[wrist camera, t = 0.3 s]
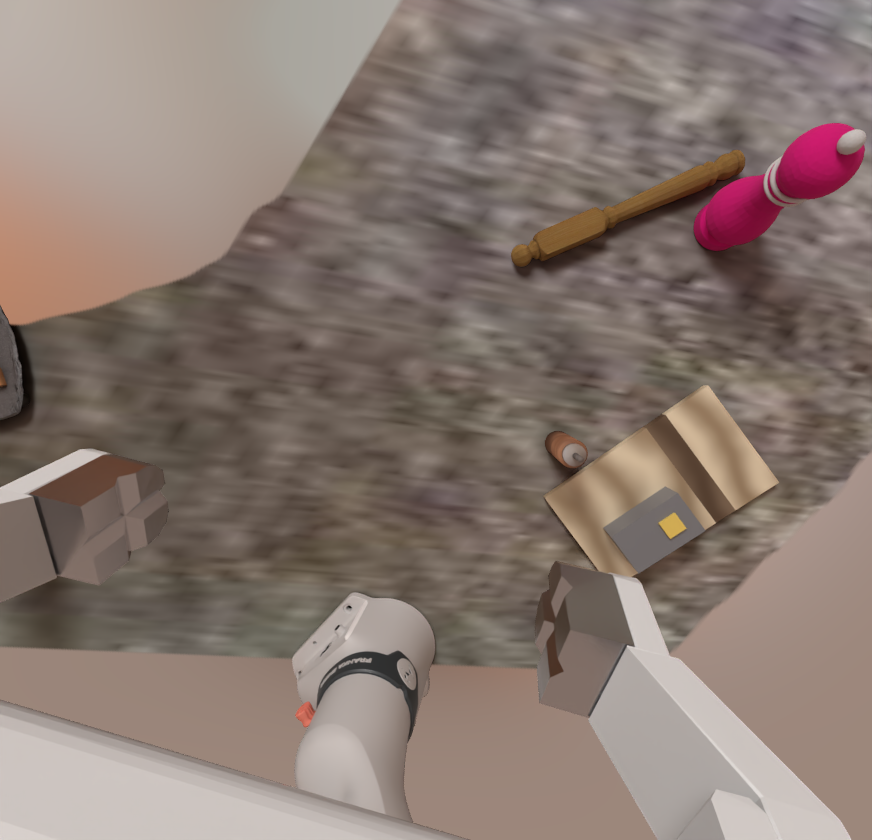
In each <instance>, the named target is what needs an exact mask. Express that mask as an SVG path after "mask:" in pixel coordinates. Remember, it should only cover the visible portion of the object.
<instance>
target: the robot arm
mask: <svg viewBox="0 0 872 840" xmlns="http://www.w3.org/2000/svg"><path fill="white" fill-rule="evenodd" d="M164 485H165V479H164V474H163V470H162V469H161V468H159V467H158V466H156V465H153V464H149V463H145V462H142V461H138V460H134V459H130V458H126V457H123V456H119V455H115V454H110V453H106V452H102V451H98V450H94V449H80V450H78V451H76V452H74V453H72V454H70V455H68V456H66V457H63V458H61V459H59V460H57V461H55V462H53V463H51V464H49V465H47V466H45V467H43V468H40V469H38V470H36V471H34V472H32V473H30V474H28V475H26V476H24V477H22V478H19V479H17V480H15V481H13V482H11V483H9V484H7V485H5V486H3V487H1V488H0V603H1V602H3V601H5V600H8V599H10V598H12V597H15V596H17V595H19V594H21V593H24V592H26V591H28V590H30V589H33V588H35V587H37V586H40V585H42V584H44V583H46V582H49V581H51V580H53V579H56V578H57V576H61V577H66V578H70V579H74V580H78V581H83V582H87V583H91V584H96V585H100V584H102V583H103V582H104V581H105V580H106V579H108V578H109V577H110V576H111V575H112V574H114V573H115V572H116V571H117V570H118V569H120V568H121V567H122V566H123V565H124V564H126V563H127V562H128V561H129V559H130V555H131V551H133V550H136V549H138V548H141V547H144V546H147V545H148V544H149V543H151V542H152V541H153V540H154V539H155V538H156V537H157V536H159V534H160V532H161V531H162V529H163V527H164V526H165V524H166V522H167V518H168V513H169V508H168V501H167V500H166V498H165V497H164V496H163V494H162V493H161V492H160V490H161V489H162V487H163V486H164ZM56 575H57V576H56ZM548 579H549V588H550V589H548V590H547V591H545V592H543V593H542V595H541V598H540V601H539V604H538V608H537V614H536V619H535V645H536V646H537V647H538V649H539V650H540V652H541V653H542V655H541V657H540V660H539V662H538V665H537V676H538V690H539V703H541V704H544V705H548V706H551V707H554V708H558V709H561V710H564V711H568V712H571V713H574V714H578V715H581V716H585V717H588V718H589V722H590V724H591V726H592V728H593V729H594V731H595V733H596V734H597V736H598V738H599V740H600V741H601V743H602V745H603V747H604V748H605V750H606V752H607V753H608V755H609V757H610V759H611V760H612V762H613V764H614V765H615V767H616V769H617V771H618V772H619V774H620V776H621V778H622V779H623V781H624V783H625V784H626V786H627V788H628V789H629V791H630V793H631V795H632V796H633V798H634V800H635V802H636V803H637V805H638V807H639V808H640V810H641V812H642V814H643V815H644V817H645V819H646V821H647V822H648V824H649V826H650V827H651V829H652V831H653V832H654V834H655V836H656V838H657V840H851V838H850V836H849V834H848V833H847V831H846V829H845V828H844V826H843V824H842V822H841V821H840V820H839V819H838V818H837V817H836V816H835V815H834V814H833V813H832V812H831V811H830V810H829V809H828V808H827V807H826V806H825V805H824V804H823V803H822V802H821V801H820V800H819V799H818V798H817V797H816V796H815V795H814V794H813V793H812V792H811V790H810V789H808V787H807V786H805V784H803V782H801V780H799V778H798V777H796V775H794V773H793V772H792V771H791V770H789V768H788V767H787V766H786V765H785V764H784V763H783V762H781V760H780V759H778V757H777V756H776V755H775V754H774V753H773V752H772V751H771V750H770V749H769V748H768V747H766V745H765V744H764V743H763V742H762V741H761V740H760V739H759V738H758V737H757V736H756V735H755V734H754V733H753V732H752V731H751V730H750V729H749V728H748V727H747V726H746V725H745V724H744V723H743V722H742V721H741V720H740V719H739V718H738V717H737V716H736V715H735V714H734V713H733V712H732V711H731V710H730V709H729V708H728V707H727V706H726V705H725V704H724V703H723V702H722V701H721V700H720V699H719V698H718V697H717V696H716V695H715V694H714V693H713V692H712V691H711V690H710V689H709V688H708V687H707V686H706V685H705V684H704V683H703V682H702V681H701V680H700V679H699V678H698V677H697V676H696V675H695V674H694V673H693V672H692V671H691V670H690V669H689V668H688V667H687V666H686V665H685V664H684V663H683V662H682V661H681V660H680V659H678V658H674V657H670V654H669V652H668V649H667V647H666V644H665V642H664V639H663V637H662V634H661V632H660V629H659V627H658V624H657V622H656V619H655V617H654V614H653V612H652V609H651V607H650V604H649V602H648V599H647V596H646V594H645V591H644V589H643V586H642V584H641V582H640V581H639V580H638V579H637V578H633V577H628V576H623V575H619V574H614V573H606V572H602V571H597V570H593V569H589V568H585V567H580V566H576V565H572V564H567V563H563V562H559V561H555V563H554V564H553V566H552V568H551V570H550V573H549V575H548ZM348 605H349V606H351V607H352V608H349V607H348ZM434 655H435V639H434V634H433V631H432V629H431V627H430V625H429V623H428V621H427V620H426V619H425V617H424V616H423V615H422V614H421V613H420V612H419V611H418V610H417V609H415V608H414V607H412V606H411V605H409V604H407V603H405V602H402V601H400V600H396V599H390V598H371V597H368V596H366V595H363V594H360V593H351V594H350V595H349V596H348V597H347V598H346V599H345V600H344V601H343V602H342V603H341V604H340V605H339V606H338V607H337V608H336V610H335V611H334V612H333V613H332V614H331V615H330V616H329V617H328V618H327V619H326V620H325V621H324V622H323V623H322V624H321V626H320V627H319V628H318V629H317V630H316V631H315V632H314V633H313V634H312V635H311V636H310V637H309V638H308V639H307V641H306V642H305V643H304V644H303V645H302V646H301V647H300V648H299V649H298V650H297V651H296V653H295V654H294V656H293V658H292V664H293V670H294V673H295V676H296V679H297V690H298V694H299V697H300V699H301V702H302V703H303V705H302V706H301V707H300V708H299V709H298V711H297V713H296V715H295V716H296V717H297V718H298V720H300V721H301V722H302V723H303V726H304V727H308V728H307V730H306V733H305V735H304V737H303V739H302V741H301V743H300V745H299V748H298V751H297V754H296V759H295V769H294V771H295V783H296V787H297V788H295V787H291V786H288V785H284V784H281V783H278V782H274V781H271V780H268V779H264V778H261V777H258V776H255V775H251V774H248V773H245V772H241V771H238V770H234V769H231V768H228V767H225V766H221V765H218V764H214V763H211V762H208V761H204V760H201V759H198V758H194V757H191V756H188V755H184V754H181V753H178V752H174V751H171V750H168V749H164V748H161V747H158V746H154V745H151V744H148V743H144V742H141V741H137V740H134V739H131V738H127V737H124V736H121V735H117V734H114V733H111V732H107V731H104V730H101V729H97V728H94V727H91V726H87V725H83V724H80V723H77V722H74V721H70V720H67V719H64V718H60V717H57V716H53V715H50V714H47V713H43V712H40V711H37V710H33V709H30V708H27V707H23V706H20V705H17V704H13V703H10V702H6V701H3V700H0V840H469V839H465V838H462V837H459V836H455V835H452V834H449V833H445V832H442V831H439V830H435V829H432V828H428V827H425V826H421V825H419V824H415V823H413V821H412V818H411V815H410V812H409V809H408V806H407V802H406V798H405V793H404V767H405V756H406V749H407V743H408V741H409V739H410V737H411V735H412V732H413V727H414V726H415V722H416V717H417V713H418V710H419V706H420V703H421V700H422V698H423V697H425V695H426V694H427V693H428V690H429V670H430V667H431V664H432V662H433V659H434ZM301 671H302V672H301Z"/></svg>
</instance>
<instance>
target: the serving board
mask: <svg viewBox="0 0 872 840" xmlns="http://www.w3.org/2000/svg"><path fill="white" fill-rule="evenodd" d="M22 383H23V378H22V366H21V363H20V359H19V354H18V349H17V343H16V339H15V336H14V333H13V330H12V328H11V326H10V324H9V321H8V319H7V317H6V316H5V314H4V312H3V310H2V308H1V306H0V420H3V419H7V418H10V417H13V416H15V415H17V414H19V413H20V411H21V407H25V406H27V405H28V404H29V403H30V398H29V396H28V395H27V394H24V393H23V391H24V390H23V387H22Z"/></svg>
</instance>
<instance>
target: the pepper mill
mask: <svg viewBox="0 0 872 840" xmlns="http://www.w3.org/2000/svg"><path fill="white" fill-rule="evenodd" d="M865 141H866V134H865V133H864V131H862V130H858V129H857V130H855V129H854V128H852V127H851V126H848V125H846V124H840V123H831V124H825V125H821V126H818V127H815V128H813V129H811V130H809V131H808V132H806V133H804V134H803V135H801V136H800V137H798V138H797V139H796V140H795V141H794V142H793V143H792V144H791V145H790V146H789V147H788V148H787V150H786V151H785V153H784V155H783V156H781V157H780V158H779V159H777V160H776V161H775V162H773V163H772V164H771V165H770V167H769V168H768V170H767V172H766V174H763V175H760V176H751V177H745V178H742V179H739V180H736V181H734V182H732V183H730V184H728V185H727V186H725V187H723V188H722V189H721V190H719V191H718V192H717V193H716V194H715V195H714V197H713V198H712V199H711V201H710V203H709V204H707V205H706V206H705V207H704V208H703V209H701V211H700V212H699V213H698V215H697V217H696V219H695V222H694V234H695V237H696V239H697V241H698V242H699V243H700V244H701V245H702V246H703V247H705V248H707V249H709V250H713V251H721V250H725V249H728V248H730V247H732V246H734V245H741V244H745V243H748V242H750V241H752V240H754V239H755V238H757V237H758V236H760V235H761V234H763V233H764V232H765V231H766V230H767V229H768V228H769V227H770V226H771V224H772V223H773V222H774V221H775V219H776V218H777V216H778V214H779V212H780V210H781V209H783V208H784V207H792V206H796V205H799V204H801V203H803V202H804V201H806V200H808V199H815V198H819V197H823V196H825V195H828V194H830V193H832V192H834V191H836V190H837V189H839V188H840V187H841V186H843V185H844V184H845V183H846V182H848V181H849V180H850V179H851V178H852V176H853V175H854V174H855V173H856V171H857V170H858V169H859V167H860V165H861V163H862V160H863V157H864V151H865V148H864V143H865Z"/></svg>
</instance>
